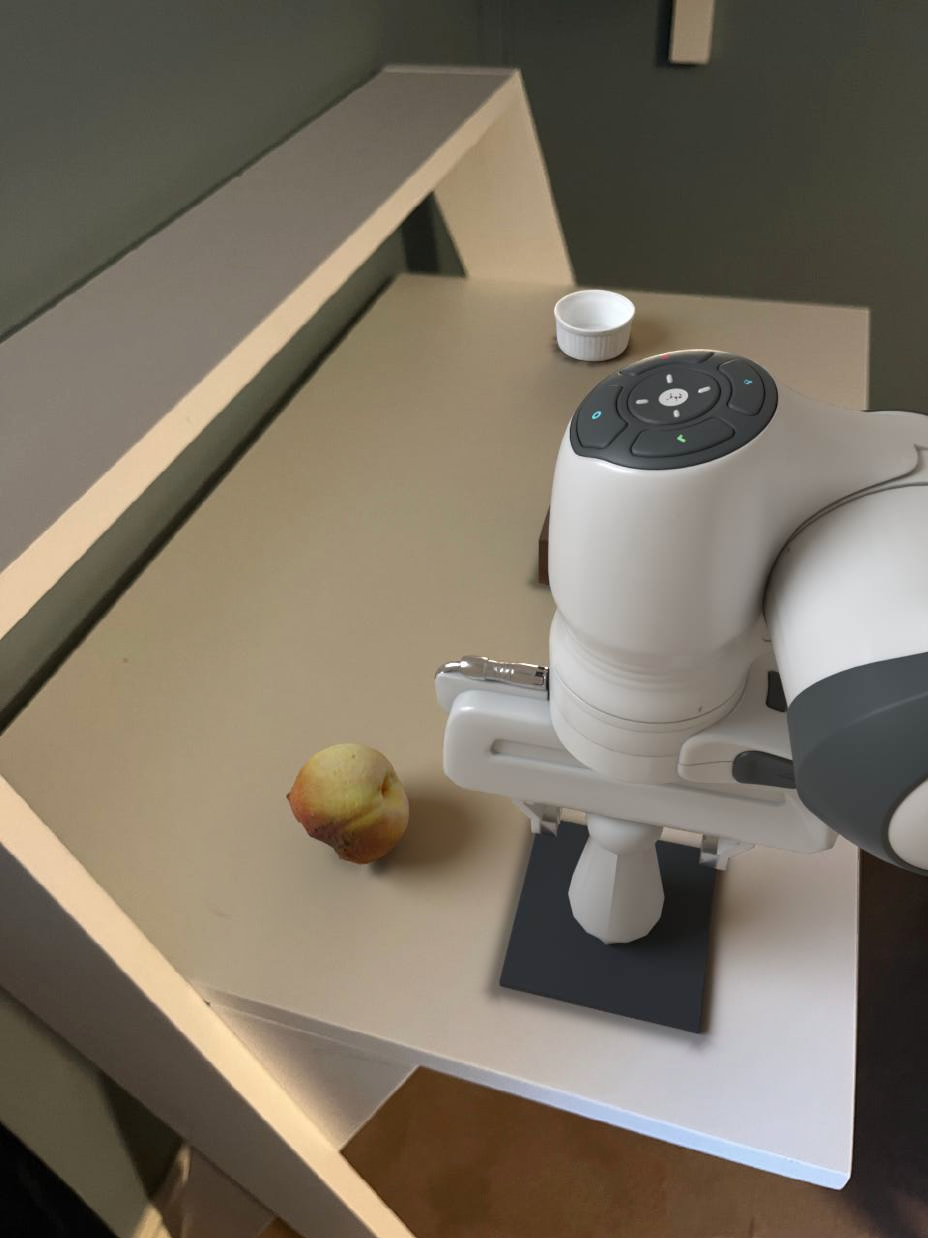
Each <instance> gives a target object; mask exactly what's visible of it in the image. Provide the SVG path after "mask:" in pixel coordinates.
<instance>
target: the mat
mask: <svg viewBox="0 0 928 1238" xmlns="http://www.w3.org/2000/svg"><path fill="white" fill-rule="evenodd" d="M534 834H535V835H534V839H533V843H532V845H531V846H532V847H531V851H530V854H529V859H528V863H527V867H526V870H525V875H524V879H523V883H522V887H521V892H520V896H519V899H518V903H517V908H516V912H515V916H514V921H513V924H512V928H511V932H510V936H509V940H508V945H507V949H506V952H505V957H504V961H503V964H502V969H501V972H500V976H499V981H498V983H499V984H498V985H499V986H500V987H502V988H503V987H504V988H507V989H511V990H516V991H520V992H523V993H528V994H532V995H536V996H540V997H545V998H549V999H553V1000H557V1001H561V1002H565V1003H570V1004H573V1005H577V1006H582V1007H586V1008H590V1009H595V1010H599V1011H603V1012H605V1013H611V1014H615V1015H619V1016H623V1017H628V1018H631V1019H635V1020H640V1021H643V1022H644V1021H645V1022H648V1023H652V1024H656V1025H661V1026H665V1027H669V1028H673V1029H678V1030H681V1031H685V1032H689V1033H693V1034H699V1032H700V1029H701V1019H702V1010H703V1009H702V1008H703V999H704V989H705V981H706V980H705V978H706V968H707V960H708V959H707V958H708V949H709V948H708V947H709V939H710V929H711V920H712V910H713V900H714V899H713V898H714V890H715V880H716V870H717V869H715V868H710V867H706V866H701V865H699V857H700V847H697V846H691V845H687V844H681V843H675V842H670V841H667V840H661V839H658V840H657V841H656V843H655V848H656V854H657V859H658V865H659V870H660V876H661V881H662V887H663V892H664V902H663V907H662V912H661V917H660V918H659V920H658V921H657V923H656V924H655V925H654V926H653V928H652V929H651V930H650V931H649V933H648V934H647V935H646V936H644V937H641V938H639V939H636V940H633V941H631V942H628V943H614V944H607V945H606V944H605V943H604V942H603V941H601V940H600V939H599V938H597V937H595V936H593V935H591V934H589V933H587V932H586V931H585V930H584V928H583V927H582V926H581V925H580V924H579V922H578V921H577V920H576V919H575V917H574V916H573V911H572V907H571V903H570V899H569V895H568V892H569V889H570V885H571V881H572V877H573V874H574V871H575V869H576V866H577V864H578V862H579V859H580V857H581V855H582V852H583V850H584V847H585V845H586V843H587V840H588V838H589V836H590V834H589V830H588V826H587V824H582V823H581V824H580V823H577V822H571V821H565V820H561V821H560V824H559V825H558V834H557V837H555V836H549V835H543V834H538V833H534Z"/></svg>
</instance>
